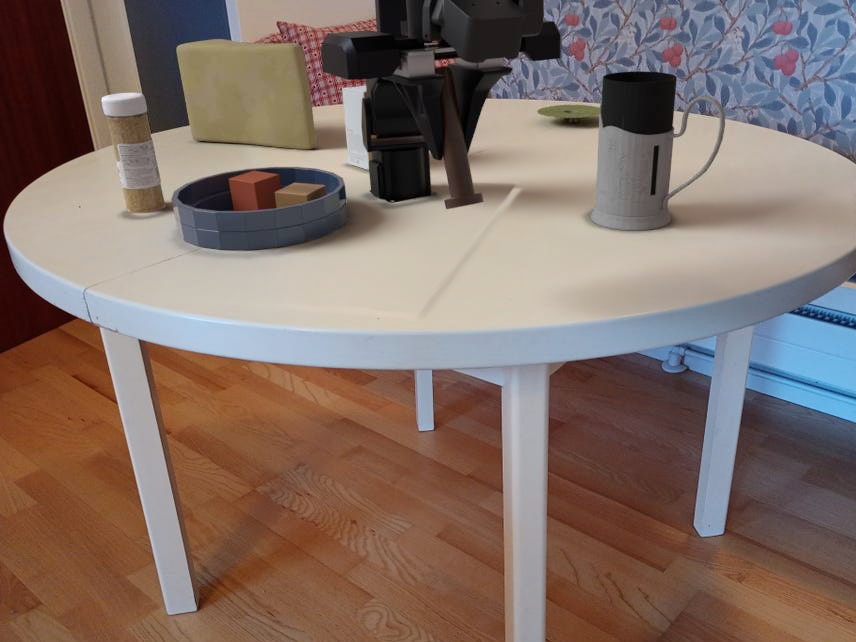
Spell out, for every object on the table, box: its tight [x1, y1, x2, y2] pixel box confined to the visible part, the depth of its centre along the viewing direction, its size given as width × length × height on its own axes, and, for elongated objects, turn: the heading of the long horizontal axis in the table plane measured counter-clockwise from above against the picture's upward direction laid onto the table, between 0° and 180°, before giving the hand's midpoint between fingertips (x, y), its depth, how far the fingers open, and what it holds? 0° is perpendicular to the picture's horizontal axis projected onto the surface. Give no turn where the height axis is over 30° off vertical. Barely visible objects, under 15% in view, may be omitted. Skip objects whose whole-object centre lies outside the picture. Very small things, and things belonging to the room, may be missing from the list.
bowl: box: [170, 166, 349, 251], centre depth 90 cm, size 18×18×4 cm
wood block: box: [275, 183, 327, 208], centre depth 89 cm, size 4×4×4 cm
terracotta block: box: [229, 171, 281, 211], centre depth 94 cm, size 4×4×4 cm
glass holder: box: [590, 70, 726, 231], centre depth 86 cm, size 9×14×15 cm, turn 49°
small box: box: [341, 84, 376, 171], centre depth 114 cm, size 8×6×10 cm
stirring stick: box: [435, 65, 485, 210], centre depth 67 cm, size 3×3×11 cm
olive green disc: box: [536, 104, 600, 124], centre depth 138 cm, size 11×11×2 cm
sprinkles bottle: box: [101, 92, 167, 214], centre depth 95 cm, size 5×5×14 cm
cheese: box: [176, 38, 317, 150], centre depth 127 cm, size 22×10×15 cm, turn 59°
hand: (450, 157), depth 68 cm, fingers closed on stirring stick, 2 cm apart
